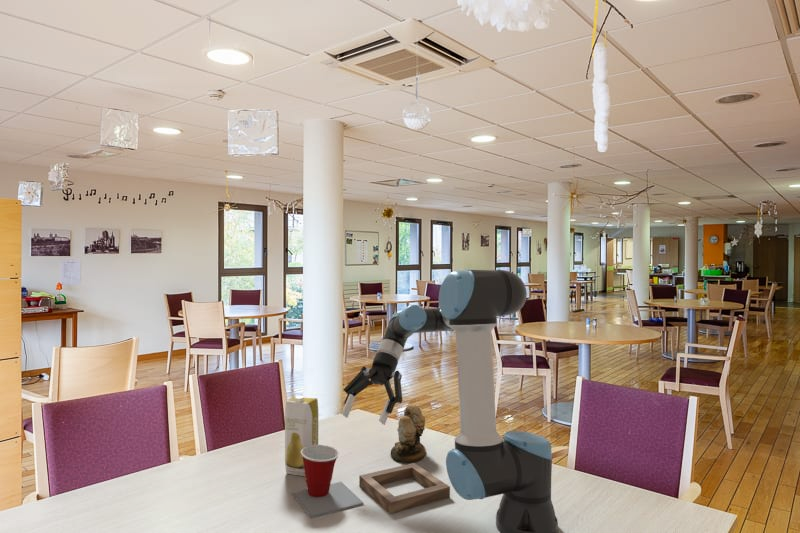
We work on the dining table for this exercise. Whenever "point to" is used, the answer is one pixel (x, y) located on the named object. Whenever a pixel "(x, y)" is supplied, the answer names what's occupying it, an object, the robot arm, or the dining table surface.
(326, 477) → the plastic cup
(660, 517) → the dining table surface
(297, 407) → the juice carton
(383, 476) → the square wooden frame
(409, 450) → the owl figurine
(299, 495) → the rubber mat
